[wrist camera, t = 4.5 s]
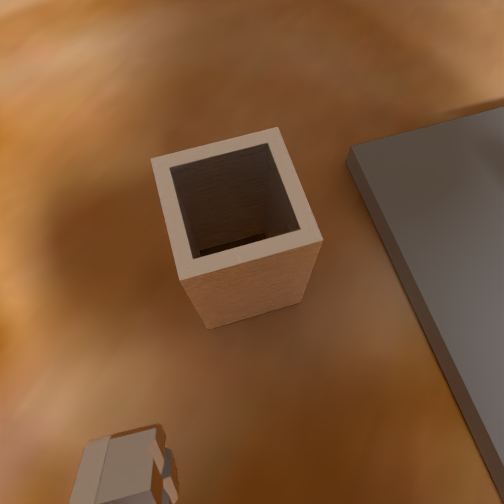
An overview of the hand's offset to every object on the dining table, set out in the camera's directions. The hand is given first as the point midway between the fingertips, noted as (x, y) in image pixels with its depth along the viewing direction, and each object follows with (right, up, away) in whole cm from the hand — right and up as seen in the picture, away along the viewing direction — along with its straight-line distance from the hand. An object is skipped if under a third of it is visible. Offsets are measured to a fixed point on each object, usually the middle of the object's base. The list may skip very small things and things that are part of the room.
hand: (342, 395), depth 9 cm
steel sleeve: (-3, +2, +13) cm, 13 cm away
